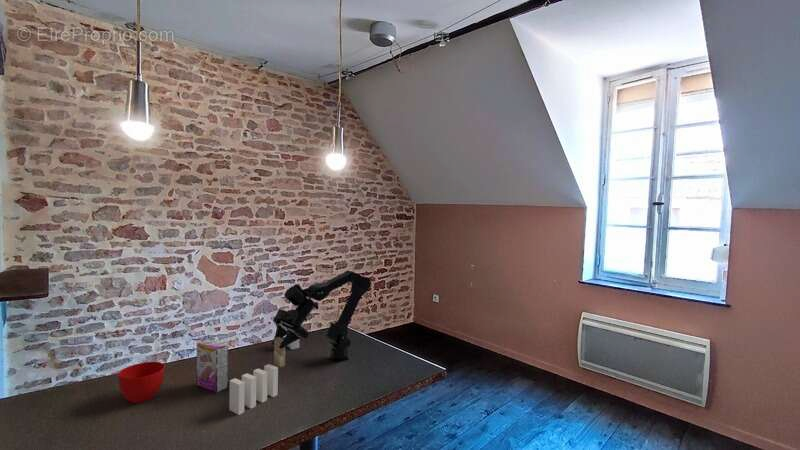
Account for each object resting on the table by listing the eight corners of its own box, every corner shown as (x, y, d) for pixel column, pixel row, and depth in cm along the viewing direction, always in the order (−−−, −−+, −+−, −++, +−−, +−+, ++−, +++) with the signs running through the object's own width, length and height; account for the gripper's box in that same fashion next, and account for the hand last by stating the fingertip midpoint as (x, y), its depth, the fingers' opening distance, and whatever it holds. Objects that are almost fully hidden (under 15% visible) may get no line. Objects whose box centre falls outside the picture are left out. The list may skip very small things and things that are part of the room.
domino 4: (268, 390, 134) (268, 363, 134) (277, 394, 132) (277, 367, 131) (263, 392, 133) (264, 365, 132) (272, 397, 130) (273, 369, 130)
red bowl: (157, 381, 138) (157, 355, 138) (168, 399, 126) (168, 370, 126) (114, 392, 129) (113, 364, 129) (121, 413, 117) (121, 382, 117)
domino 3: (257, 395, 131) (258, 368, 130) (267, 400, 128) (267, 372, 127) (252, 398, 129) (253, 370, 128) (262, 402, 126) (262, 374, 126)
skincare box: (299, 347, 174) (300, 322, 174) (290, 350, 172) (291, 324, 171) (294, 343, 179) (294, 319, 179) (285, 345, 176) (285, 321, 176)
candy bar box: (195, 386, 136) (195, 342, 135) (207, 380, 140) (207, 338, 139) (216, 393, 131) (216, 348, 130) (228, 387, 135) (228, 344, 135)
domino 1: (234, 407, 123) (235, 378, 122) (244, 412, 120) (244, 382, 120) (229, 410, 121) (229, 380, 121) (238, 414, 119) (239, 384, 118)
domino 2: (246, 401, 127) (246, 373, 126) (256, 405, 124) (256, 377, 124) (241, 403, 125) (241, 375, 124) (250, 408, 122) (251, 379, 122)
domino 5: (278, 361, 145) (278, 336, 144) (285, 365, 142) (285, 340, 141) (273, 363, 143) (274, 338, 143) (280, 367, 140) (280, 341, 139)
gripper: (277, 296, 150) (250, 329, 143) (302, 306, 137) (274, 342, 130) (294, 311, 156) (269, 343, 149) (319, 321, 144) (294, 357, 136)
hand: (276, 346), depth 141 cm, fingers closed on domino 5, 5 cm apart
